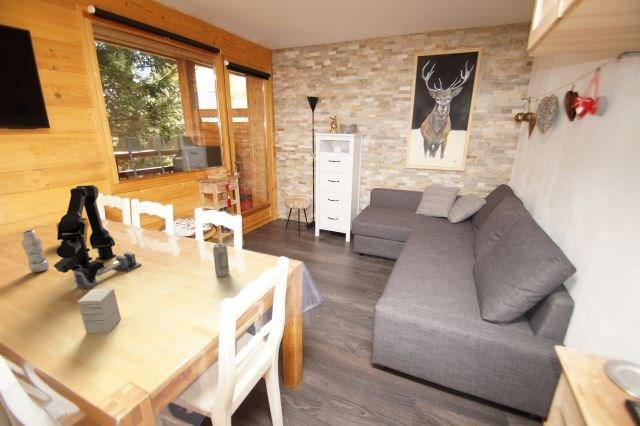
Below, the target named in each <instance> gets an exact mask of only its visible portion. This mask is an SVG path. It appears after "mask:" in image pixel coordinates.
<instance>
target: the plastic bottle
mask: <svg viewBox="0 0 640 426" xmlns="http://www.w3.org/2000/svg"><path fill="white" fill-rule="evenodd" d="M22 236H23V237H24V238H23V239H22V241H21V247H22V248H23V251H25V254H26V257H27V260H28V268H29V269H28V270H30V273H33V274H36V273H37V274H38V273H41V272H45V271H47V270H48V269H49V267H50V263H49V261H48V260H47V259H46V255H45V253H44V251H43V242H42V239H41V238H40V237H38V236H36V232H35V230H34V229H28V230H25V231H22Z"/></svg>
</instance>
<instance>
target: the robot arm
mask: <svg viewBox="0 0 640 426" xmlns="http://www.w3.org/2000/svg"><path fill="white" fill-rule="evenodd" d="M98 198H99V189H98V187H97V186H96V185H94V184H87V185H76V187H73V188H71V189H70V198H69V203H68V207H67V212H66V214H64V215H62V216H61V218H60V220H59V222H60V223H59V224H58V229H57V236H56V237H57V241H60V244H59V246H58V247H57V248H56V250H55V251H56V254H57V256H59V257H60V258H61V259H60V260H59V261H57V262H56V263H54V265H53V268H55V269H56V270H57V272H61V273H63V274H65V273H67V272H69V271H72V272H73V270H75V269H77V268H80V267H82V266H83V267H82V269H83V271H82V273H85V274H86V275H87V278H88V280H89V282H90V283H93V282H94V279H95V277H96V276H97V275H96V274H97V271H98V270H99V269H101V268H103V267H104V265H105V263H104V262H103V261H107V260H109V259H111V258H115V257H117V254H114V251H113V247H114V246H116V241H115V239H114V238H113V236H111V234H110V232H109V231H108V230H107V229H105V227H104V225H103V222H102V219H101V215H100V212H99V209H98V205H97V199H98ZM83 210H85V213H86V215H87V219H88V221H89V226H90V228H91V229H90V230H91V234H90V236H89V244H90V246H91V249H92V250H97V253H98V254H97V255H98V256H97V257H95V260H93V257H91V256H90V255H89V252H90V251H91V250H90V248H89V247H87V243H86V242H87V241H86V242H85V238H84V234H85V229H86V224H85V222H84V220H83V219H82V218H83V212H84V211H83ZM70 233H72V234H70ZM63 234H67V235H63ZM92 260H93V261H92Z"/></svg>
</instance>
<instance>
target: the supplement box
mask: <svg viewBox="0 0 640 426" xmlns="http://www.w3.org/2000/svg"><path fill="white" fill-rule="evenodd" d="M77 305H78V308H79V313H80V316H81V319H82V323H83V325H84V331H85V334H102V333H103V334H105V333H110V332H111V331H112V329H114V327H115V326H116V325H117V324H118V322H119V321H120V320H121V319H122V317H121V314H120V309H119V305H118V300H117V297H116V291H115V289H114V288H99V289H97V288H95V289H91V290H89V292H87V293H86V294H84V296H82V297H81V298H80V299H78V300H77Z"/></svg>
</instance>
